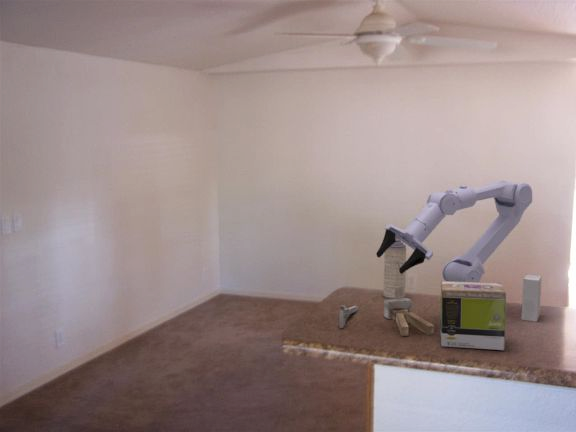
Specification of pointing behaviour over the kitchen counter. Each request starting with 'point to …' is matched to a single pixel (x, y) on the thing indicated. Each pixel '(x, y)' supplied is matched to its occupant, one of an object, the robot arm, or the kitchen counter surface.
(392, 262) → the cream cylinder
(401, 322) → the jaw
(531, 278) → the skincare box
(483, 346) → the tea box
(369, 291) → the kitchen counter surface
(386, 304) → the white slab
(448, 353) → the kitchen counter surface
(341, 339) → the kitchen counter surface
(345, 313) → the caliper
